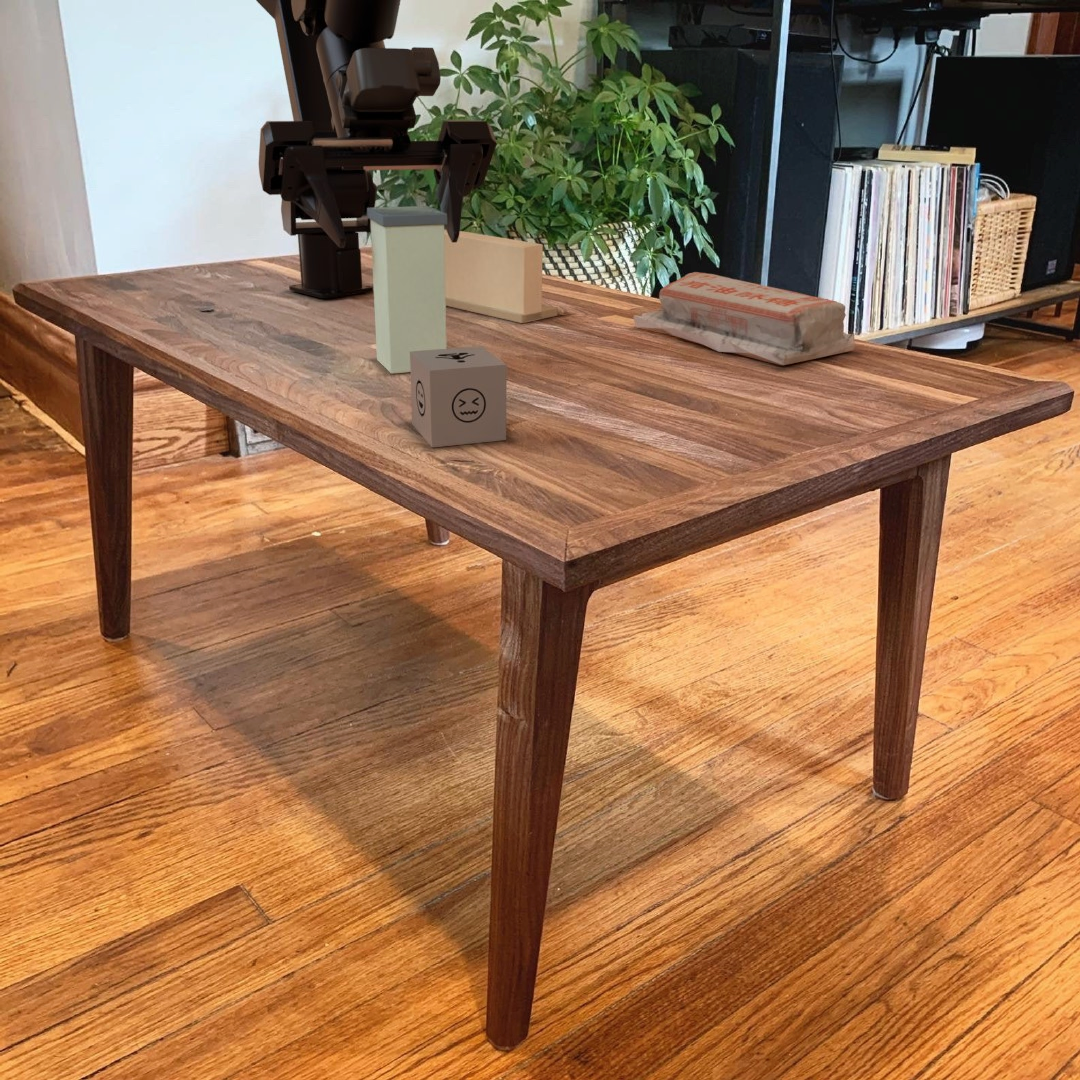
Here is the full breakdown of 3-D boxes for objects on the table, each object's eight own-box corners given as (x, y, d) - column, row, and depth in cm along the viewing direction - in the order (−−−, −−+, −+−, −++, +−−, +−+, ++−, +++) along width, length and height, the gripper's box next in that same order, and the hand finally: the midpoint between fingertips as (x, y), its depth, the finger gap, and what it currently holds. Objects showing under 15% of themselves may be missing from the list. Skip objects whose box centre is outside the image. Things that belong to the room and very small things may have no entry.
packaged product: (866, 296, 91) (789, 310, 85) (858, 352, 93) (783, 370, 87) (709, 265, 104) (633, 276, 98) (705, 315, 106) (631, 328, 100)
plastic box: (373, 359, 88) (366, 207, 83) (432, 354, 90) (428, 205, 85) (389, 374, 84) (382, 215, 79) (450, 369, 86) (447, 213, 81)
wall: (430, 302, 109) (428, 231, 107) (466, 295, 113) (466, 227, 110) (521, 323, 101) (522, 247, 98) (557, 315, 105) (559, 241, 102)
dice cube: (482, 417, 74) (482, 346, 72) (506, 439, 70) (506, 364, 68) (412, 424, 73) (409, 351, 71) (431, 447, 68) (429, 370, 66)
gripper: (250, 4, 80) (287, 174, 75) (488, 12, 86) (537, 169, 81) (245, 114, 89) (278, 271, 85) (459, 114, 96) (502, 259, 91)
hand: (400, 241), depth 85 cm, fingers open, 9 cm apart
